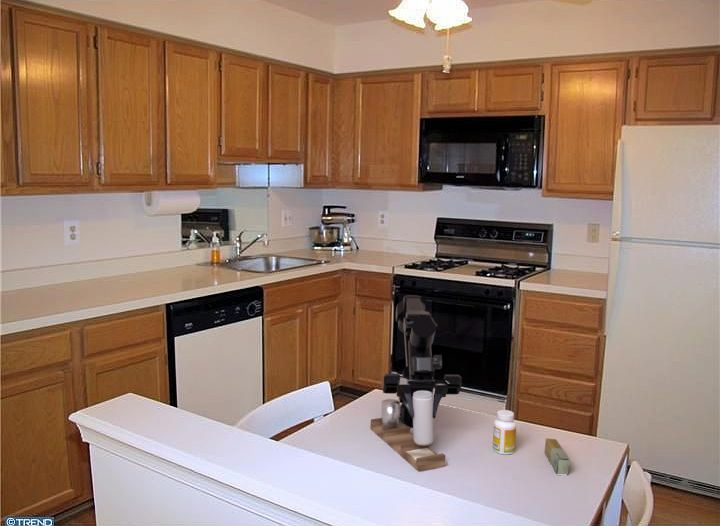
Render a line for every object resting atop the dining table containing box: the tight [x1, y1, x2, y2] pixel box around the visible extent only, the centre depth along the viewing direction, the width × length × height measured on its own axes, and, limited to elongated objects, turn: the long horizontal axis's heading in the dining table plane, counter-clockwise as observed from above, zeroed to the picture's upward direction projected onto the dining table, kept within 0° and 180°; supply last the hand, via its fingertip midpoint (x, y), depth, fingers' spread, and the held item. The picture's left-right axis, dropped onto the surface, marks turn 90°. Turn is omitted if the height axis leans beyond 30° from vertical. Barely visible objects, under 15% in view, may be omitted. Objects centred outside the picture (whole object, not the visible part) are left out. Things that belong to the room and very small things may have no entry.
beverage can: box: [412, 391, 435, 446], centre depth 150 cm, size 5×5×12 cm
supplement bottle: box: [492, 409, 517, 456], centre depth 155 cm, size 5×5×10 cm
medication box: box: [544, 438, 570, 475], centre depth 149 cm, size 12×3×4 cm, turn 178°
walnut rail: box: [370, 417, 446, 473], centre depth 157 cm, size 26×7×3 cm, turn 24°
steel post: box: [381, 398, 401, 430], centre depth 164 cm, size 5×5×7 cm
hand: (423, 417), depth 148 cm, fingers closed on beverage can, 5 cm apart
